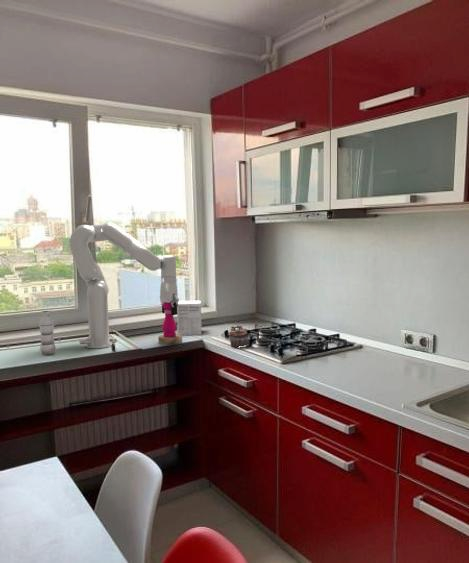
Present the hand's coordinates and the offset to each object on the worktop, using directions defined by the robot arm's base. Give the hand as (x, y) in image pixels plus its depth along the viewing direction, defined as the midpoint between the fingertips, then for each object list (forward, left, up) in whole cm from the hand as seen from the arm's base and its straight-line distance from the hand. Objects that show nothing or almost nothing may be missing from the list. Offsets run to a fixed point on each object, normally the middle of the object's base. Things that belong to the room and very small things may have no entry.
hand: (169, 313), depth 235 cm
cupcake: (+20, -31, -15) cm, 40 cm away
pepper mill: (0, 0, -12) cm, 12 cm away
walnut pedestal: (0, 0, -15) cm, 15 cm away
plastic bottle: (-56, +15, -15) cm, 60 cm away
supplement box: (+21, +14, -15) cm, 29 cm away
